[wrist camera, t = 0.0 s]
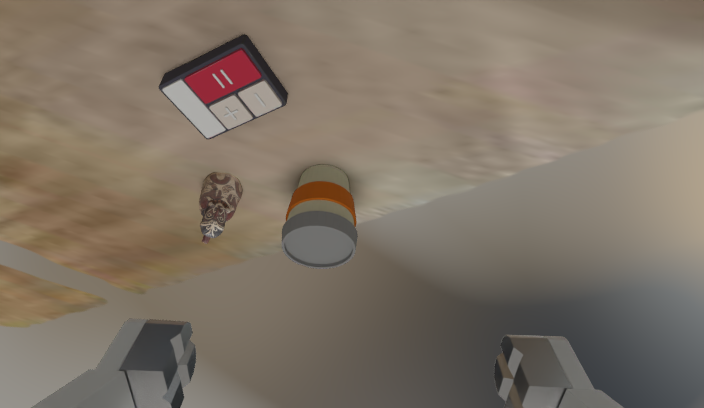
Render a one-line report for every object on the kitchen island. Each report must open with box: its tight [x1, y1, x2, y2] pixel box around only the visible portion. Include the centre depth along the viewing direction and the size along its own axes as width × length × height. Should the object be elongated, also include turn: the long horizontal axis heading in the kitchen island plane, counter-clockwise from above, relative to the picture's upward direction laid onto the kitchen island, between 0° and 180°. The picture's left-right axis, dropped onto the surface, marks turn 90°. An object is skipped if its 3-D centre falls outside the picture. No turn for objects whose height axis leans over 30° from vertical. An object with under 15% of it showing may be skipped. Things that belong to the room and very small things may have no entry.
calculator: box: [159, 35, 288, 139], centre depth 66 cm, size 11×4×15 cm
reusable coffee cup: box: [282, 165, 358, 269], centre depth 77 cm, size 12×13×15 cm
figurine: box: [199, 173, 242, 244], centre depth 80 cm, size 7×7×12 cm
